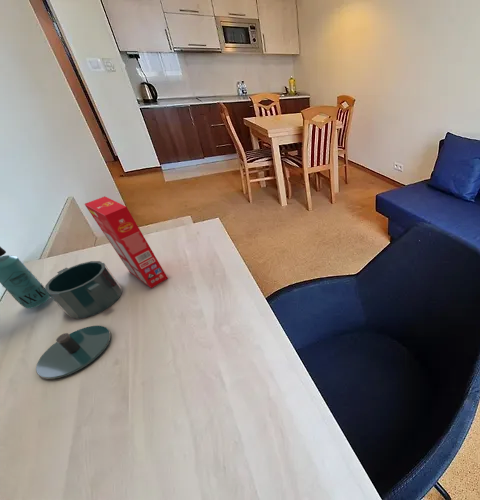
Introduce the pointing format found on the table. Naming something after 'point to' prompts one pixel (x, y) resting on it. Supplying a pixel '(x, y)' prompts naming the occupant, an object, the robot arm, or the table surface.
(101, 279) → the pot
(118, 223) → the food packaging
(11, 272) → the beverage bottle
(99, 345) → the lid
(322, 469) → the table surface
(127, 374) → the table surface
